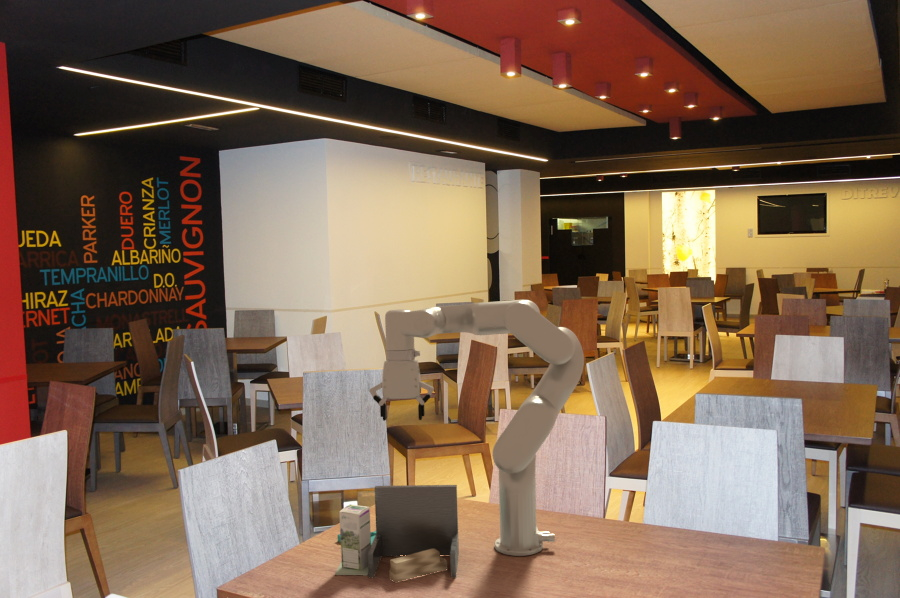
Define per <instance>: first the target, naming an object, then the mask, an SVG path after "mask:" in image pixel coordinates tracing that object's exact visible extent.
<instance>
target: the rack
mask: <svg viewBox="0 0 900 598" xmlns="http://www.w3.org/2000/svg"><path fill="white" fill-rule="evenodd" d="M457 487H458V486H457V484H429V485H428V484H427V485H425V484H423V485H421V484H420V485H419V484H418V485H412V484H411V485H410V484H409V485H375V486H374V509H375V531H376V535H375V538H374V540H373V542H372V545H371V547H370V549H369V552H368V578H369V577H373V578H372V579H374V578H375V576H376V573H377V570H378V568H379V565H380V562H381V560H380V559H382V557H381V556H397V557H401V556H400V555H403V556H405V555H410V554H414V553H418V552H421V551H425V550H429V549H433V548H434V549H436V550H437V551H439V552H440V555H450V556H449V557H450V578H451V577H456V578H457V574H456V573H457V572H458V563H459V557H458V556H459V555H460V551H459V550H460V546H459V517H458V516H459V515H458V513H459V512H458V510H459V509H458V488H457ZM403 556H402V557H403ZM378 564H379V565H378ZM377 567H378V568H377ZM375 572H376V573H375ZM374 575H375V576H374Z"/></svg>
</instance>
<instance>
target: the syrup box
mask: <svg viewBox="0 0 900 598" xmlns="http://www.w3.org/2000/svg"><path fill="white" fill-rule="evenodd" d="M338 513H339V532H340V533H339V534H340V537H341V542H340V555H341V556H340V557H341V561H342V568H348V569H354V570H363V569H364V568H365V567H367V566H368V552H369V549H370V547H371V532H372V531H371V510H370V506H365V505H359V504H357V505H356V504H349V505H346V506H345V507H343V508H342V509H341V510H339V512H338Z"/></svg>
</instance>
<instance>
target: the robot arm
mask: <svg viewBox="0 0 900 598" xmlns="http://www.w3.org/2000/svg"><path fill="white" fill-rule="evenodd" d="M384 318H385V319H384V325H385V327H384V328H385V346H386V347H385V350H386V351H385V352H386V353H385V354H386V360H384V361H383V369H382V382H379V383H378V384H376V385H375V386H373V387H371V388H370V389H369V390H368V391H369V393H370V395H371V396H372V398H373V400H374V401H375V402H376V403H377V404H378V406H380V407H379V409H380V410H379V411H380V412H379V413H380V414H379V415H380V418H381V417H382V421H384V422H385V421H386V420H387V419H388V412H387V411H388V405H387V404H386V402H387V400H388V399H389V400H390V399H391V400H396V399H397V400H399V399H400V400H401V399H403V400H404V399H415V400H416V401H417V402H418V406H417V409H418V412H417V413H418V414H417V415H418V420H419V421H422V419H423V417H425V404H426V403H427V402H428V401H429V400H430V398H431V397H432V395H433V392H434V390H435V387H434V386H432V385H430V384H427V383H425V382H423V381H421V379H422V378H421V371H420V366H419V361H418V359H415V358H417V357H420V356H421V350H416V348H415V338H421V339H429V338H430V337H433V336H436V335H439V334H451V333H452V334H453V333H456V334H457V333H468V334H473V335H475V336H491V335H504V334H505V335H506V334H507V335H508V334H512V336H514V337H515V338H516V339H517V340H518V341H519V342H520V343H522V345H524V346H526V347H527V348H528V349H529V350H531V352H533V353H534V354H536V355H537V356H538V357H539V358H540V359H542V360H543V361H545V362H547V363H549V364H548V367H547V368H546V371H545V372H544V373H543V375H542V377H541V379H540V380H539V381H538V383H537V385H536V386H535V387H534V389H533V391H532V392H531V393H530V395H528V397H527V398H526V399H525V400H524V401H523V402H522V403H521V405H520V406H519V408H518V410H517V411H516V412H515V414H513V415H514V416H513V417H512V419H510V421H509V422H508V424H507V426H506V427H505V429H504V430H503V431H502V432H501V434H500V435H499V437H498V438H497V440H496V442H495V443H494V446H493V448H492V461H493V463H494V465H495V466H496V468H497V469H498V500H499V501H498V502H499V503H498V504H499V505H498V506H499V509H498V510H499V538H497V539H496V540H495V541H494V548H495V550H496V551H497V552H499V553H500V554H503V555H507V556H513V557H525V556H531V555H532V556H533V555H535V554H537V553H539V552H541V551H542V550H543V549H544V544H543V543H544V542H548V543H549V542H550V543H551V542H552V543H554V542H556V541H555V540H556V539H555V534H554V533H550V531H540V530H539V529H538V526H537V497H536V495H537V494H536V493H537V492H536V489H537V487H536V484H537V482H536V480H537V479H536V462H537V461H536V458H537V455H536V454H537V453H538V451H539V450H540V448H541V447H542V445H543V444H544V442H545V441H546V439H547V438H548V437H549V435H550V433H551V432H552V430H553V428H554V426H555V424H556V421H557V419H558V416H559V414H560V412H561V411H562V409H563V407H564V406H565V405H566V403H567V402H568V400H569V398H570V396H572V394H573V392H574V390H575V388H577V386H578V383H579V382H580V380H581V377H582V375H583V371H584V364H585V356H584V355H585V354H584V351H583V348H582V347H583V346H582V344H581V342H580V340H579V339H578V337H577V335H576V334H575V332H574V331H572V330H571V329H569V328H568V327H565V326H559V327H558V326H556V325H555V324H554V323H552V322H551V321H550V320H549V319H548V318H546V317H545V316H544V315H543V314H542V313H541V311H540V308H539V306H538V305H537V304H536V303H535V302H534V301H532V300H529V299H515V300H500V301H487V302H486V301H485V302H484V301H483V302H474V303H469V304H459V305H458V304H457V305H455V304H454V305H441V306H431V307H425V308H422V309H418V310H410V309H391V310H388V311H386V313H385V316H384ZM381 389H382V397H380V396H379V395H378V393H377V392H378V391H379V390H381ZM422 389H424V390H426V391H427V393H426V395H425V396H423V395H421V393H422Z"/></svg>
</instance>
